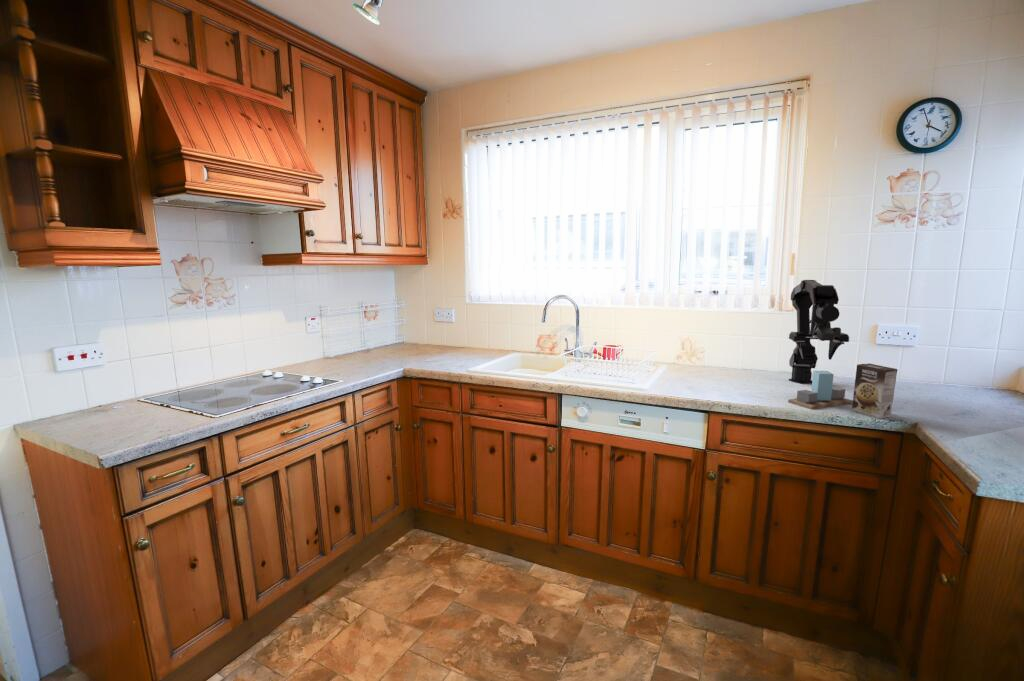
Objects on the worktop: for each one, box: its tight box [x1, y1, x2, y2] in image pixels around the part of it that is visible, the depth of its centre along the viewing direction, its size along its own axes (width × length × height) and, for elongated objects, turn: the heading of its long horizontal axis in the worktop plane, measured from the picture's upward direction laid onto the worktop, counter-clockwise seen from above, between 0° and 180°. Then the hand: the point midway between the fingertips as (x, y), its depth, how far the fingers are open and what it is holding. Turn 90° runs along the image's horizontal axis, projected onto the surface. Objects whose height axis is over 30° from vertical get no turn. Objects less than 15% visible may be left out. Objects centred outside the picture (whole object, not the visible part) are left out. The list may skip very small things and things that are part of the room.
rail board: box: [787, 397, 853, 410], centre depth 172 cm, size 20×9×1 cm, turn 109°
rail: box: [797, 397, 845, 404], centre depth 172 cm, size 18×4×1 cm, turn 109°
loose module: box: [810, 370, 834, 401], centre depth 171 cm, size 4×5×10 cm
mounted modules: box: [796, 385, 846, 402], centre depth 172 cm, size 18×4×3 cm, turn 109°
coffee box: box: [851, 363, 898, 419], centre depth 158 cm, size 9×6×16 cm
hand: (816, 359), depth 183 cm, fingers open, 9 cm apart
